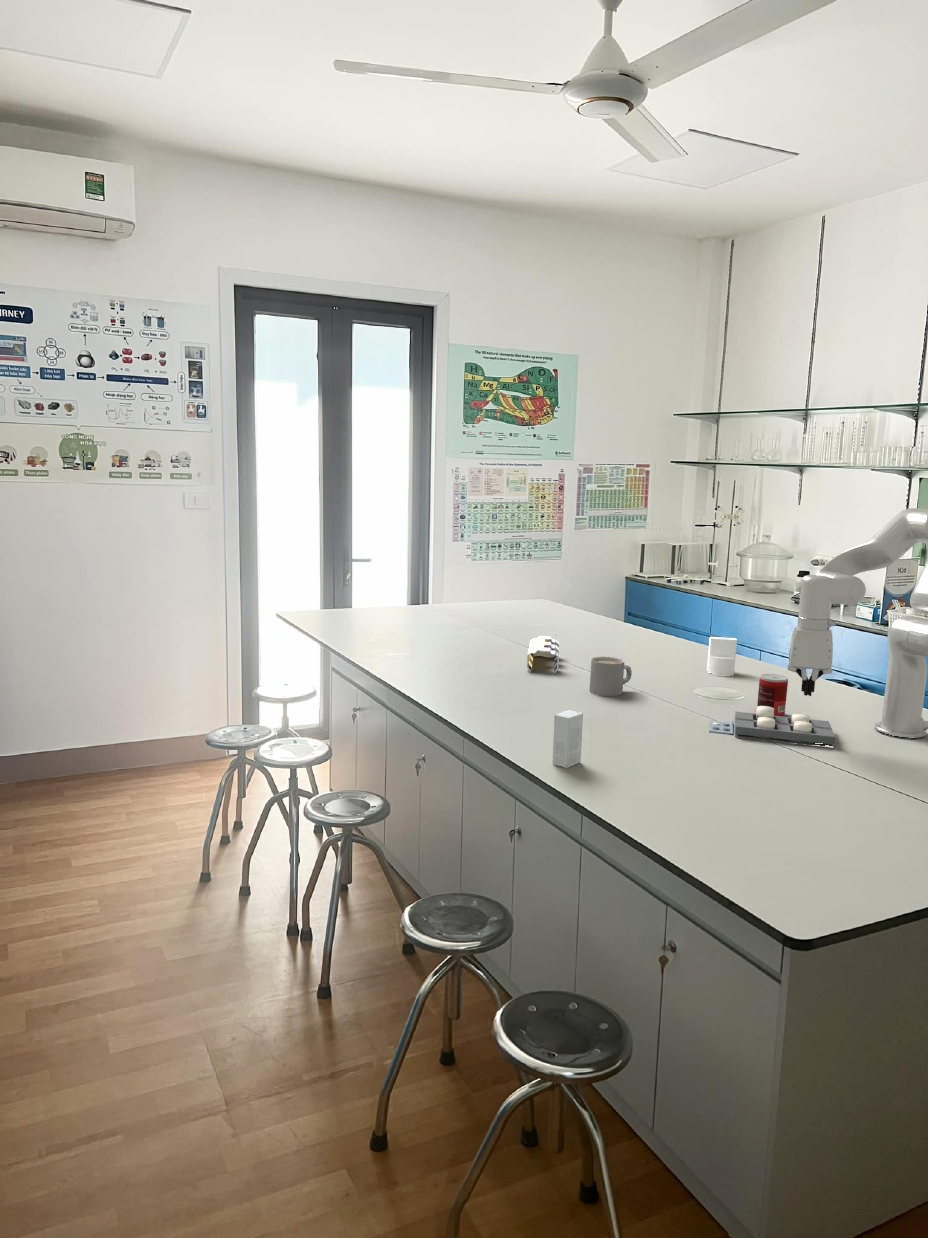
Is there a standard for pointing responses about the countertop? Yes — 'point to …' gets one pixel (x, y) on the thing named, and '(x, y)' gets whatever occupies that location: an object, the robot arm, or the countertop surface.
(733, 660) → the cylinder with rectangular tab
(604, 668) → the coffee mug
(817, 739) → the button board
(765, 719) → the button
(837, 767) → the countertop surface
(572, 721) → the skincare box
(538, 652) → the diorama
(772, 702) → the canned food
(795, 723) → the button
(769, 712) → the button
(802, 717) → the button
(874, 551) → the robot arm
